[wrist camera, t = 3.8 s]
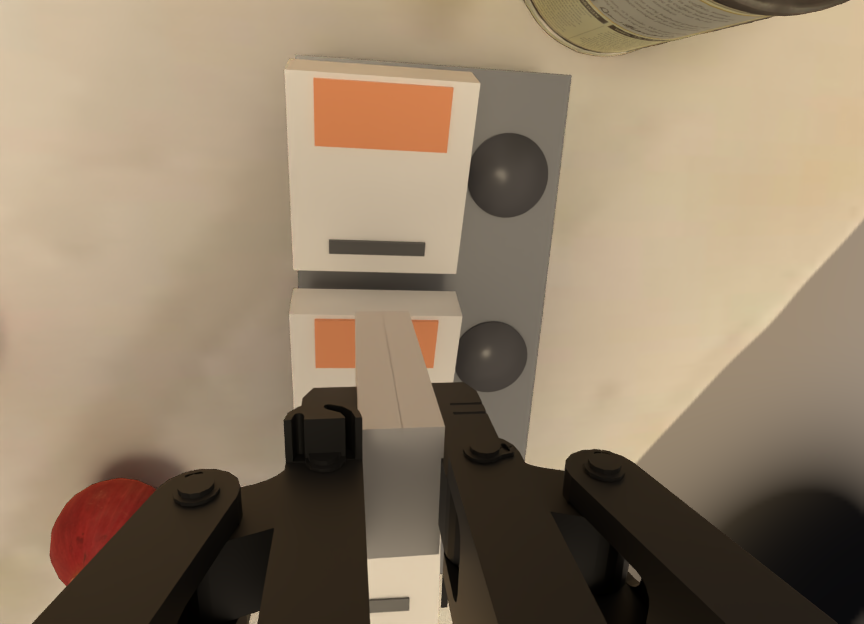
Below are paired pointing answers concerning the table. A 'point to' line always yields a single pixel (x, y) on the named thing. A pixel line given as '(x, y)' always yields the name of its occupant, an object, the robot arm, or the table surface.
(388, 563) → the panel
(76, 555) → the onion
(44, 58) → the table surface
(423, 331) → the rocker
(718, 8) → the coffee can
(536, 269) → the power strip
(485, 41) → the table surface
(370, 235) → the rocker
